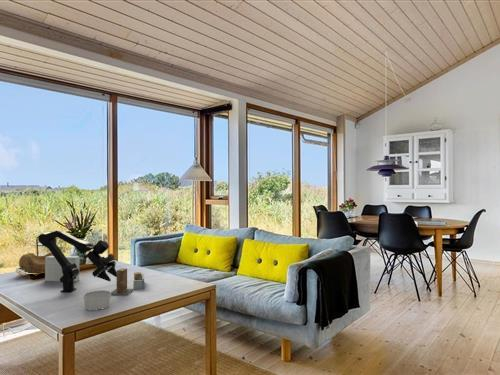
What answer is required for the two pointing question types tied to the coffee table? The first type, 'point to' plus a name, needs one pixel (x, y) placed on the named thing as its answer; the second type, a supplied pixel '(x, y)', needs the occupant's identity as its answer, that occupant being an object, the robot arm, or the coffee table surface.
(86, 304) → the ramekin
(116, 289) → the charcoal mat
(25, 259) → the rough brown rock
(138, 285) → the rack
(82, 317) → the coffee table surface
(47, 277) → the skincare box
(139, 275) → the upper oak offcut
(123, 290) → the brown wooden block
